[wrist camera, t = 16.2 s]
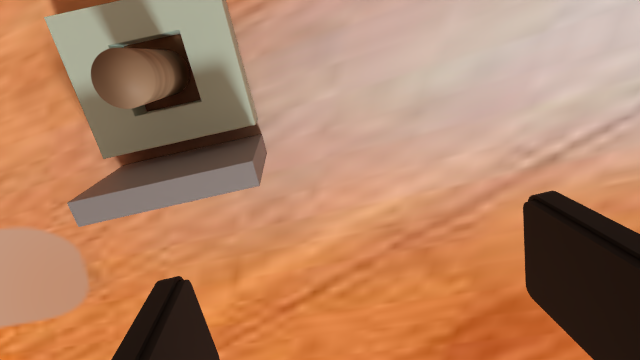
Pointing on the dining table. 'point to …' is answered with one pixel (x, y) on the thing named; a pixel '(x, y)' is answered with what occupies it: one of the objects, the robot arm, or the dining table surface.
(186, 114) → the socket block
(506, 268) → the dining table surface
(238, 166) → the low wall
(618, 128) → the dining table surface
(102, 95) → the walnut peg
